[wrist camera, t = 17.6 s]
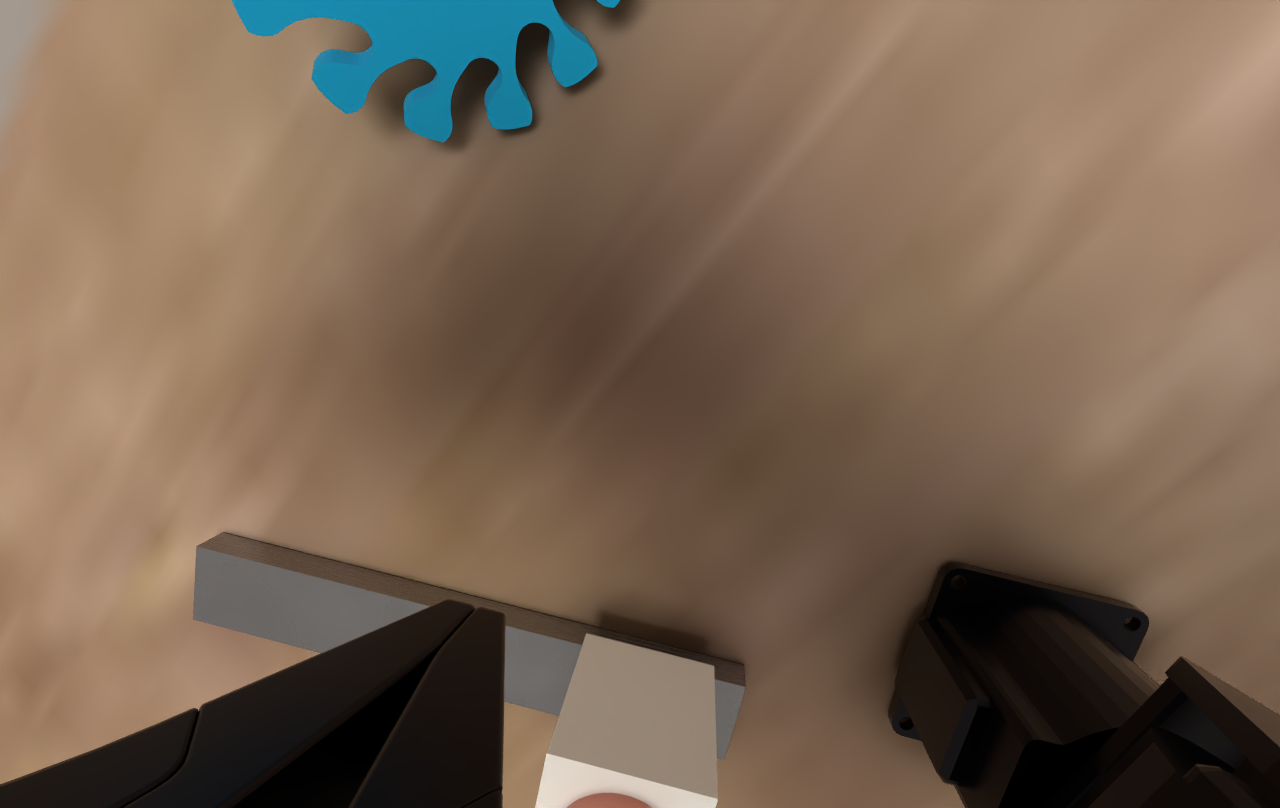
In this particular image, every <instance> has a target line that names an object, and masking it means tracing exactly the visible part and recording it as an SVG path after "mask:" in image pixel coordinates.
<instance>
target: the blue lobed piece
mask: <svg viewBox="0 0 1280 808" xmlns="http://www.w3.org/2000/svg"><path fill="white" fill-rule="evenodd" d="M597 1H598V2H599V3H600V4H602V5H603V6H606V7H613V8H614V7H615V6H616V5H617V4H618V3H619V1H620V0H597ZM232 2H233V4H234V6H235V8H236V10H237V13H238V15H239V17H240V18H241V20H242V22H243V23H244V25H245V27H246V29H247V30H248V32H250V33H252V34H255V35H259V36H272V35H275V34H277V33H279V32H280V31H281V30H283V29H284V28H285V27H286V26H288V25H290V24H292V23H294V22H296V21H299V20H303V19H307V18H318V17H321V18H331V19H337V20H342V21H348V22H352V23H355V24H357V25H359V26H360V27H362V28H363V29H364V30H365V31H366V32H367V33H368V35H369V36H370V38H371V40H372V45H371V46H370V48H369V49H368V50H366V51H364V52H360V53H353V52H347V51H342V50H327V51H324V52H322V53H321V54H320V55H318V57H317V58H316V60H315V62H314V66H313V73H312V80H313V81H314V83H315V85H316V86H317V88H318V89H319V90H320V91H321V92H322V93H323V95H324V96H325V97H326V98H327V99H329V100H330V101H331V102H332V103H333V104H334V105H335V106H337V107H338V108H339V109H340V110H342V111H343V112H344V113H345V114H348V113H353V112H356V111H358V110H359V109H360V108H361V107H362V106H363V105H364V103H365V101H366V97H367V94H368V91H369V89H370V87H371V85H372V83H373V82H374V81H375V80H376V79H377V77H378V76H379V75H380V74H382V73H383V72H384V71H385V70H387V69H388V68H390V67H392V66H394V65H396V64H399V63H401V62H404V61H406V60H409V59H413V58H418V59H422V60H425V61H427V62H428V63H430V64H431V65H432V66H433V67H434V68H435V70H436V72H437V73H436V76H435V78H434V79H433V80H432V81H431V82H430V83H428V84H426V85H423V86H421V87H418V88H416V89H414V90H412V91H411V92H410V93H409V94H408V95H407V96H406V98H405V101H404V122H405V127H407V128H408V129H410V130H411V131H412V132H414V133H416V134H418V135H420V136H423V137H426V138H429V139H432V140H436V141H440V142H445V141H446V140H447V139H448V138H449V136H450V135H451V132H452V128H453V123H452V117H451V107H450V104H451V97H452V93H453V90H454V87H455V84H456V82H457V81H458V79H459V77H460V75H461V74H462V73H463V71H464V70H465V68H466V67H467V65H468V64H469V63H470V62H471V61H473V60H474V59H477V58H487V59H490V60H492V61H493V62H495V63H496V64H497V65H498V67H499V70H498V74H497V76H496V77H495V79H494V80H493V82H492V83H491V84H490V86H489V87H488V89H487V91H486V93H485V99H484V102H485V107H486V111H487V116H488V120H489V122H490V124H491V126H492V127H493V128H497V129H515V128H521V127H525V126H529V125H530V124H531V121H532V115H533V114H532V108H531V105H530V102H529V99H528V96H527V93H526V91H525V90H524V88H523V87H522V85H521V84H520V82H519V80H518V78H517V75H516V68H515V55H516V45H517V38H518V34H519V32H520V30H521V29H522V28H523V27H524V26H526V25H527V24H529V23H535V22H537V23H541V24H543V25H545V26H546V27H548V28H549V30H550V32H549V42H548V49H547V57H548V61H549V64H550V66H551V69H552V71H553V74H554V76H555V78H556V80H557V81H558V82H559V83H560V84H561V85H562V86H564V87H569V86H571V85H574V84H576V83H577V82H579V81H581V80H582V79H583V78H585V77H586V76H587V75H588V74H589V73H590V72H592V71H593V70H594V69H595V68H596V67H597V58H596V55H595V52H594V50H593V49H592V47H591V45H590V43H589V41H588V39H587V38H586V36H584V35H583V34H582V33H581V32H580V31H578V30H576V29H574V28H573V27H572V26H571V25H569V24H568V23H567V22H566V21H565V20H564V19H563V18H562V16H561V15H560V14H559V13H558V11H557V10H556V8H555V6H554V3H553V0H232Z"/></svg>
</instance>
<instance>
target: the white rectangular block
mask: <svg viewBox="0 0 1280 808" xmlns="http://www.w3.org/2000/svg"><path fill="white" fill-rule="evenodd" d="M717 801H718V781H717V746H716V711H715V677H714V666H713V665H709V664H705V663H701V662H697V661H693V660H689V659H685V658H681V657H677V656H674V655H670V654H666V653H662V652H658V651H654V650H650V649H646V648H642V647H638V646H634V645H630V644H627V643H623V642H619V641H615V640H611V639H607V638H603V637H599V636H595V635H591V634H587V633H586V635H585V639H584V642H583V645H582V648H581V651H580V654H579V657H578V660H577V663H576V666H575V669H574V672H573V675H572V678H571V681H570V684H569V687H568V690H567V693H566V696H565V699H564V702H563V705H562V709H561V712H560V715H559V718H558V721H557V724H556V727H555V730H554V733H553V736H552V739H551V742H550V745H549V748H548V751H547V755H546V759H545V764H544V769H543V774H542V778H541V783H540V788H539V793H538V797H537V802H536V807H535V808H716V804H717Z"/></svg>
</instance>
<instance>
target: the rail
mask: <svg viewBox="0 0 1280 808" xmlns="http://www.w3.org/2000/svg"><path fill="white" fill-rule="evenodd" d="M447 599H453V600H457V601H460V602H464V603H468V604H472V605H474V606H475V608H478V607H484V608H488V609H492V610H496V611H500V612H503V613H504V614H505V617H506V624H505V681H504V702H508V703H512V704H516V705H519V706H523V707H527V708H531V709H535V710H538V711H542V712H546V713H550V714H554V715H557V716H559V715H560V712H561V709H562V705H563V702H564V699H565V696H566V693H567V690H568V687H569V684H570V681H571V678H572V675H573V672H574V669H575V666H576V663H577V660H578V657H579V654H580V651H581V648H582V645H583V642H584V639H585V635H586V633H587V634H591V635H595V636H599V637H603V638H607V639H611V640H615V641H619V642H623V643H627V644H630V645H634V646H638V647H642V648H646V649H650V650H654V651H658V652H662V653H666V654H670V655H674V656H677V657H681V658H685V659H689V660H693V661H697V662H701V663H705V664H709V665H713V666H714V677H715V711H716V746H717V758H720V759H724V760H725V756H726V753H727V750H728V746H729V743H730V739H731V736H732V732H733V729H734V726H735V722H736V719H737V715H738V712H739V709H740V705H741V702H742V698H743V695H744V692H745V688H746V685H745V675H744V665H742V664H738V663H734V662H730V661H727V660H723V659H719V658H715V657H711V656H707V655H703V654H699V653H695V652H691V651H687V650H683V649H679V648H675V647H671V646H668V645H664V644H660V643H656V642H652V641H648V640H644V639H640V638H636V637H632V636H628V635H624V634H620V633H616V632H612V631H609V630H605V629H601V628H597V627H593V626H589V625H585V624H581V623H577V622H573V621H569V620H565V619H561V618H557V617H553V616H550V615H546V614H542V613H538V612H534V611H530V610H526V609H522V608H518V607H514V606H510V605H506V604H502V603H498V602H494V601H491V600H487V599H483V598H479V597H475V596H471V595H467V594H463V593H459V592H455V591H451V590H447V589H443V588H439V587H436V586H432V585H428V584H424V583H420V582H416V581H412V580H408V579H404V578H400V577H396V576H392V575H388V574H384V573H380V572H377V571H373V570H369V569H365V568H361V567H357V566H353V565H349V564H345V563H341V562H337V561H333V560H329V559H325V558H321V557H318V556H314V555H310V554H306V553H302V552H298V551H294V550H290V549H286V548H282V547H278V546H274V545H270V544H266V543H262V542H259V541H255V540H251V539H247V538H243V537H239V536H235V535H231V534H227V533H221V534H219V535H217V536H215V537H213V538H211V539H209V540H208V541H206V542H204V543H202V544H200V545H198V546H196V568H195V589H194V611H193V620H197V621H201V622H205V623H209V624H212V625H216V626H220V627H224V628H228V629H231V630H235V631H239V632H243V633H246V634H250V635H254V636H258V637H262V638H265V639H269V640H273V641H277V642H281V643H284V644H288V645H292V646H296V647H300V648H303V649H307V650H311V651H315V652H319V653H323V652H325V651H328V650H330V649H332V648H335V647H337V646H339V645H342V644H344V643H346V642H349V641H351V640H353V639H355V638H358V637H360V636H362V635H365V634H367V633H369V632H372V631H374V630H376V629H379V628H381V627H383V626H386V625H388V624H390V623H393V622H395V621H397V620H400V619H402V618H404V617H407V616H409V615H411V614H414V613H416V612H418V611H420V610H423V609H425V608H427V607H430V606H432V605H434V604H437V603H439V602H441V601H444V600H447Z"/></svg>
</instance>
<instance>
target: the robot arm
mask: <svg viewBox="0 0 1280 808" xmlns="http://www.w3.org/2000/svg"><path fill="white" fill-rule="evenodd" d="M957 575H962V579H961V580H960V582H958V583H951V580H952V579H953V577H955V576H957ZM1130 617H1132V619H1131V621H1130V622H1129V623H1127V624H1124V621H1125V620H1126V619H1127V618H1130ZM505 624H506V617H505V614H504V613H503V612H500V611H496V610H492V609H488V608H484V607H478V608H475V606H474V605H472V604H468V603H464V602H460V601H457V600H453V599H447V600H444V601H441V602H439V603H437V604H434V605H432V606H430V607H427V608H425V609H423V610H420V611H418V612H416V613H414V614H411V615H409V616H407V617H404V618H402V619H400V620H397V621H395V622H393V623H390V624H388V625H386V626H383V627H381V628H379V629H376V630H374V631H372V632H369V633H367V634H365V635H362V636H360V637H358V638H355V639H353V640H351V641H349V642H346V643H344V644H342V645H339V646H337V647H335V648H332V649H330V650H328V651H325V652H323V653H321V654H318V655H316V656H314V657H311V658H309V659H307V660H304V661H302V662H300V663H297V664H295V665H293V666H290V667H288V668H286V669H283V670H281V671H279V672H277V673H274V674H272V675H270V676H267V677H265V678H263V679H260V680H258V681H256V682H253V683H251V684H249V685H246V686H244V687H242V688H239V689H237V690H235V691H232V692H230V693H228V694H225V695H223V696H221V697H218V698H216V699H214V700H211V701H209V702H207V703H204V704H203V705H202V706H201V707H200V709H199V712H198V709H196V708H192V709H190V710H188V711H185V712H183V713H181V714H178V715H176V716H174V717H171V718H169V719H167V720H164V721H162V722H160V723H158V724H155V725H153V726H150V727H148V728H145V729H143V730H141V731H138V732H136V733H133V734H131V735H128V736H126V737H123V738H121V739H119V740H116V741H114V742H111V743H109V744H106V745H104V746H102V747H99V748H97V749H94V750H92V751H89V752H86V753H84V754H81V755H78V756H76V757H73V758H70V759H68V760H65V761H62V762H60V763H57V764H54V765H52V766H49V767H46V768H44V769H41V770H38V771H36V772H33V773H30V774H28V775H25V776H22V777H20V778H17V779H14V780H11V781H9V782H6V783H3V784H0V808H503V795H502V789H503V737H504V681H505ZM1148 626H1149V620H1148V617H1147V616H1146V615H1145V614H1144V613H1143V612H1142V611H1141V610H1139V609H1138V608H1137V607H1135V606H1133V605H1131V604H1128V603H1124V602H1120V601H1116V600H1112V599H1107V598H1103V597H1099V596H1095V595H1091V594H1087V593H1082V592H1078V591H1074V590H1070V589H1066V588H1062V587H1057V586H1053V585H1049V584H1045V583H1041V582H1037V581H1032V580H1028V579H1024V578H1020V577H1016V576H1011V575H1007V574H1003V573H999V572H995V571H991V570H986V569H982V568H978V567H974V566H970V565H966V564H961V563H950V564H947V565H945V566H944V567H942V569H941V570H940V572H939V574H938V577H937V579H936V582H935V585H934V588H933V591H932V593H931V596H930V599H929V602H928V604H927V607H926V610H925V613H924V615H923V617H922V618H920V619H919V620H918V621H916V623H915V625H914V628H913V631H912V634H911V637H910V639H909V642H908V645H907V648H906V651H905V653H904V656H903V659H902V662H901V664H900V667H899V670H898V673H897V676H896V678H895V685H896V687H897V690H896V693H895V696H894V699H893V701H892V704H891V707H890V710H889V714H888V717H889V720H890V723H891V725H892V728H893V730H894V731H895V732H896V733H897V734H900V735H902V736H905V737H909V738H913V739H917V740H921V741H922V742H923V745H924V747H925V749H926V751H927V753H928V755H929V757H930V759H931V762H932V764H933V766H934V768H935V770H936V772H937V774H938V775H939V777H940V778H941V780H942V781H943V782H944V783H947V784H951V785H954V786H955V788H956V790H957V792H958V794H959V796H960V798H961V800H962V802H963V804H964V806H965V808H1280V715H1279V714H1277V713H1275V712H1274V711H1272V710H1270V709H1269V708H1267V707H1265V706H1264V705H1262V704H1260V703H1259V702H1257V701H1255V700H1254V699H1252V698H1250V697H1249V696H1247V695H1245V694H1244V693H1242V692H1240V691H1239V690H1237V689H1235V688H1234V687H1232V686H1230V685H1229V684H1227V683H1225V682H1224V681H1222V680H1221V679H1219V678H1217V677H1216V676H1214V675H1212V674H1211V673H1209V672H1207V671H1206V670H1204V669H1202V668H1201V667H1199V666H1197V665H1196V664H1194V663H1192V662H1191V661H1189V660H1187V659H1186V658H1184V657H1182V656H1181V657H1180V658H1179V659H1178V660H1177V661H1176V662H1175V663H1174V664H1173V665H1172V666H1171V667H1170V668H1169V669H1168V670H1167V671H1166V672H1165V673H1166V675H1167V676H1168V677H1169V678H1168V679H1167V680H1166V681H1165V682H1164V683H1163V684H1162V685H1161V686H1160V685H1158V684H1157V683H1156V682H1155V681H1154V680H1153V679H1152V678H1151V677H1150V676H1148V675H1147V674H1146V673H1145V672H1144V671H1143V670H1142V669H1141V668H1139V667H1138V666H1137V665H1136V664H1135V663H1134V662H1133V660H1134V658H1135V655H1136V653H1137V651H1138V649H1139V647H1140V645H1141V642H1142V640H1143V638H1144V636H1145V634H1146V632H1147V629H1148ZM905 717H909V720H907V721H905V722H901V721H900V720H901V719H902V718H905Z"/></svg>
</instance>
